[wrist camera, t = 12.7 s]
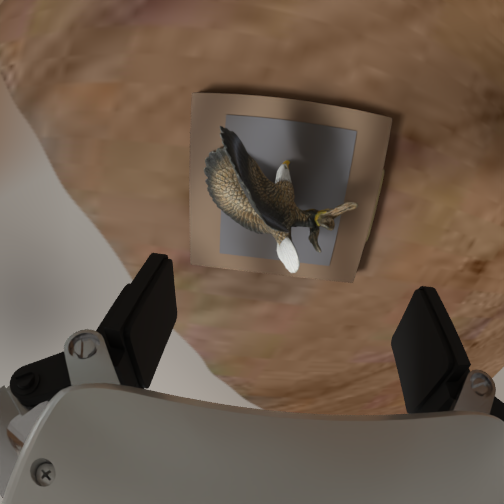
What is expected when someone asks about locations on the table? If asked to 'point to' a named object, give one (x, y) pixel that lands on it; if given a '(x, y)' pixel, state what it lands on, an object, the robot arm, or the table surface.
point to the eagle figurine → (263, 198)
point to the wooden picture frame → (302, 177)
